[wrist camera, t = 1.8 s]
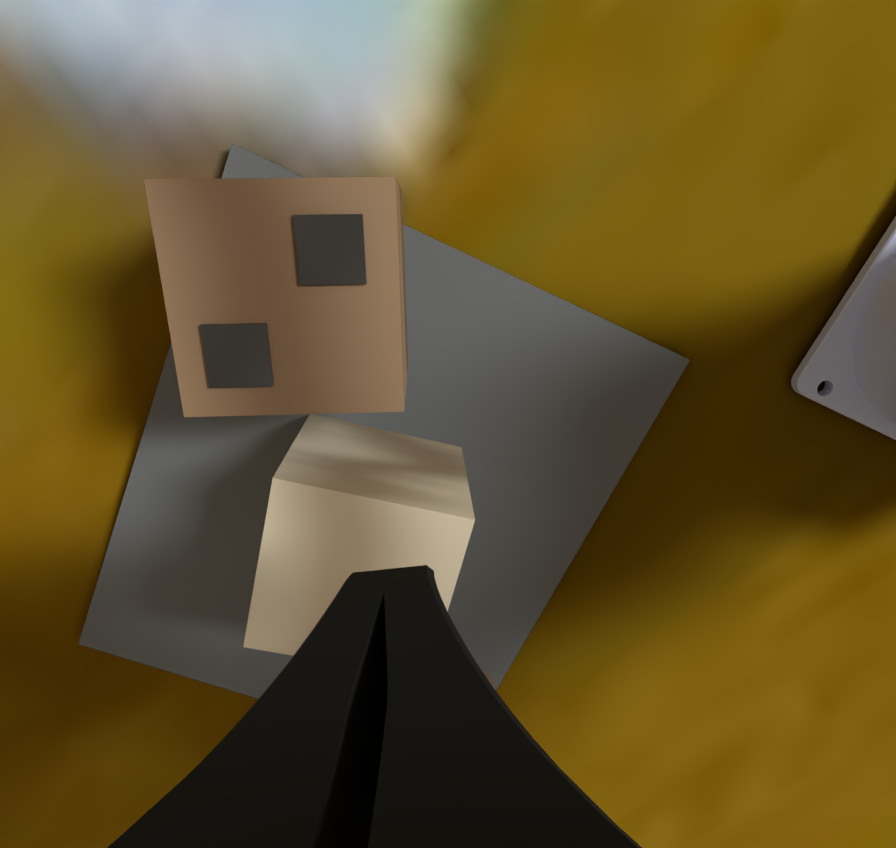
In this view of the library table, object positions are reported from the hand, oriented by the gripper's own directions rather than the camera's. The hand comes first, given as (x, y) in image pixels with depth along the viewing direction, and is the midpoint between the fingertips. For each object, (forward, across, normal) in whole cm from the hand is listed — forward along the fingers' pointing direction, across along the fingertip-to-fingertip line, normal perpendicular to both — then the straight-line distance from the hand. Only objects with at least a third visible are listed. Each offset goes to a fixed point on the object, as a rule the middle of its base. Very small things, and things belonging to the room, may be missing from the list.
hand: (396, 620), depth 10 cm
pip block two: (+10, +2, -5) cm, 11 cm away
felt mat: (+10, +2, +3) cm, 11 cm away
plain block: (+10, +1, +2) cm, 10 cm away
